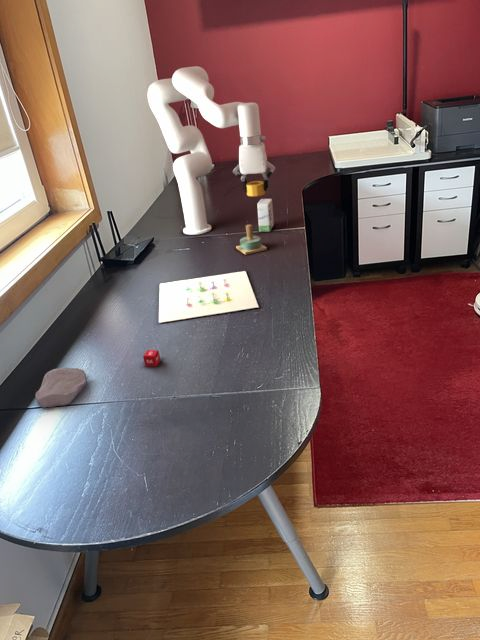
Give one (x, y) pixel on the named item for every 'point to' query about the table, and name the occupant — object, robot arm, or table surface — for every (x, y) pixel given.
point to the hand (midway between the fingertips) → (255, 190)
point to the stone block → (60, 387)
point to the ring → (255, 188)
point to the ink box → (265, 215)
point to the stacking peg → (250, 243)
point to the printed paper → (205, 296)
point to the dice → (151, 358)
